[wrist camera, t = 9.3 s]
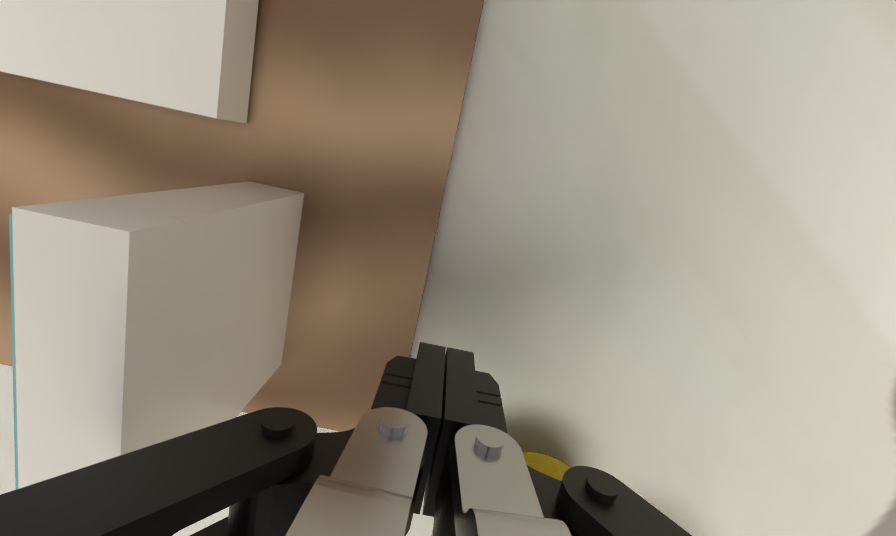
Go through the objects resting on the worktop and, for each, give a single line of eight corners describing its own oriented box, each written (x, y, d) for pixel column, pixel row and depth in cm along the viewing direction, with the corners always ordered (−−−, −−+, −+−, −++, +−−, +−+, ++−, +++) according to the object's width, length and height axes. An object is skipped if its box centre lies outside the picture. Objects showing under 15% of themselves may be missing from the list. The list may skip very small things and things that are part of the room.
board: (-32, -209, 15) (-75, -241, 14) (501, -83, 15) (504, -103, 14) (-11, 343, 19) (-42, 355, 18) (395, 424, 20) (391, 441, 19)
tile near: (243, 179, 16) (-3, 203, 8) (304, 193, 16) (129, 231, 8) (226, 353, 18) (7, 536, 9) (281, 364, 18) (116, 557, 9)
